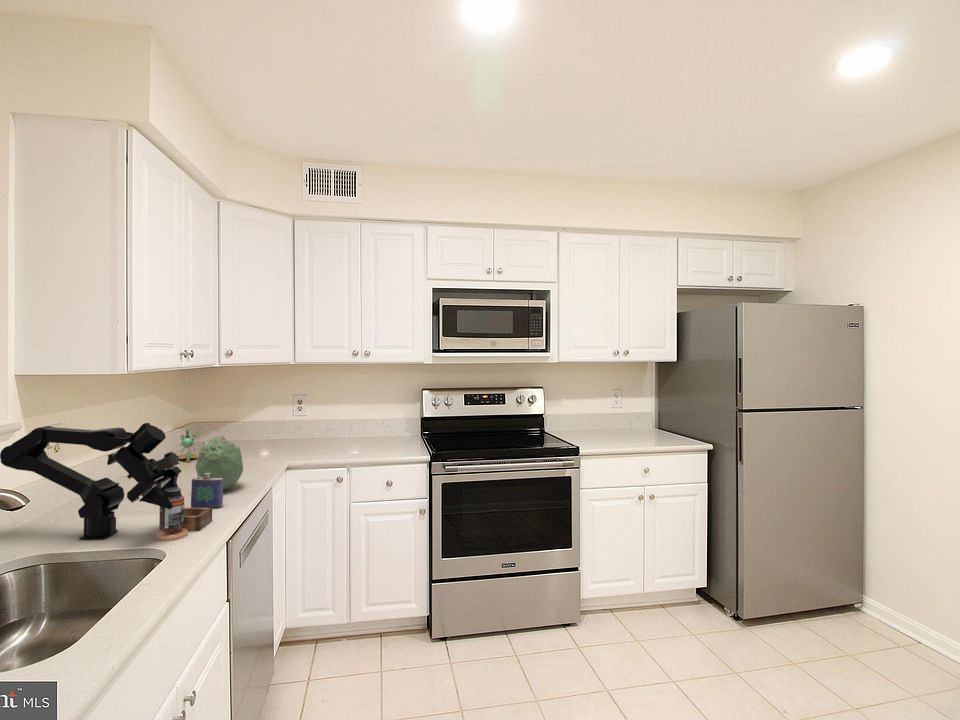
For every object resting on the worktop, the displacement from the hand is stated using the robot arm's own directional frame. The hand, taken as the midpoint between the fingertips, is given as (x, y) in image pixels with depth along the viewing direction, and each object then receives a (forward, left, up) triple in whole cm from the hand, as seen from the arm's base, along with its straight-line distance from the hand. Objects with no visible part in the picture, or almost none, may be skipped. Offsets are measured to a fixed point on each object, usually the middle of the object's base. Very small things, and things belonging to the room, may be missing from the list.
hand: (177, 504), depth 147 cm
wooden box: (0, +9, -9) cm, 12 cm away
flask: (-3, +27, -9) cm, 28 cm away
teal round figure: (-42, +101, -9) cm, 109 cm away
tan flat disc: (-1, 0, -9) cm, 9 cm away
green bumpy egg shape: (-7, +48, -9) cm, 49 cm away
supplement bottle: (-1, 0, -7) cm, 7 cm away
